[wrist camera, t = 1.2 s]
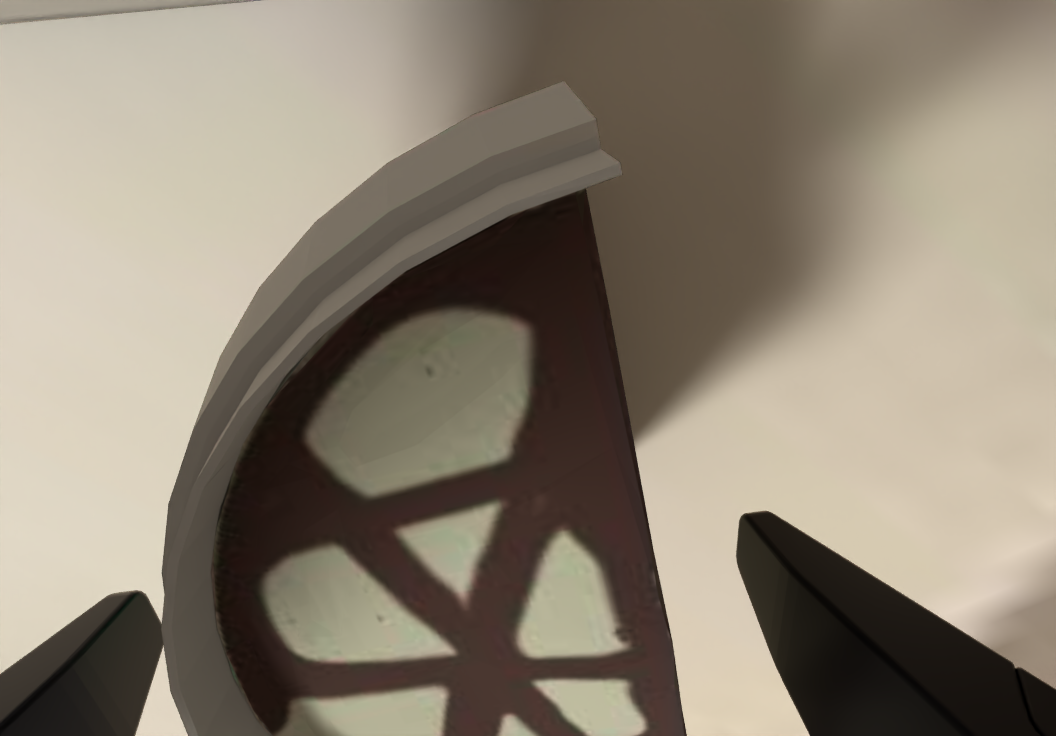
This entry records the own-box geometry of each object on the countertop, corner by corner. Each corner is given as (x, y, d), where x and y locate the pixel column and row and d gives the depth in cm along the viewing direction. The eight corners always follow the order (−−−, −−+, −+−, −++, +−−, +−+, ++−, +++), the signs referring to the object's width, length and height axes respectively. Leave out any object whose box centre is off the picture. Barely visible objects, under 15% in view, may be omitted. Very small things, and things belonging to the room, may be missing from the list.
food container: (245, 154, 13) (-282, 311, 4) (513, 84, 13) (608, 76, 4) (418, 557, 18) (364, 1008, 9) (607, 511, 18) (738, 926, 9)
